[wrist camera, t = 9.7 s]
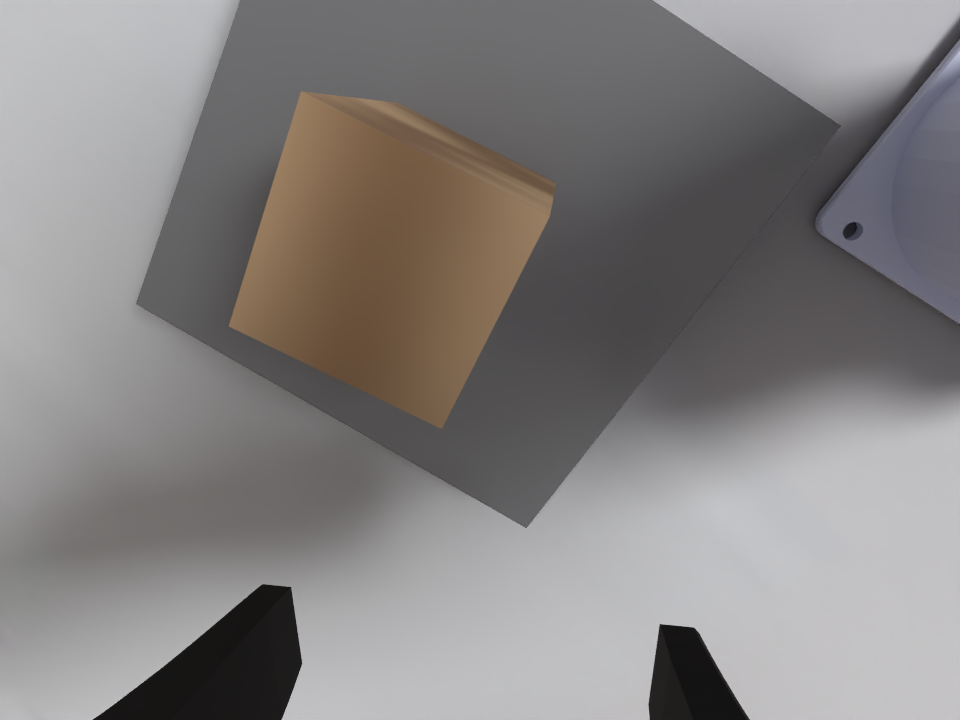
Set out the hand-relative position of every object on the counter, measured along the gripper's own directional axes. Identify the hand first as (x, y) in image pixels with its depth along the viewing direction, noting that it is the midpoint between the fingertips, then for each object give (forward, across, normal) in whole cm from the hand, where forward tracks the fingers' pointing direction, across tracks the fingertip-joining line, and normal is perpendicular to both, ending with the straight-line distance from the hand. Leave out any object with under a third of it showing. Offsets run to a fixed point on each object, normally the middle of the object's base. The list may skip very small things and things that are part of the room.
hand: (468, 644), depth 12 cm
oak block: (+7, +2, -7) cm, 10 cm away
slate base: (+10, +2, -7) cm, 13 cm away
